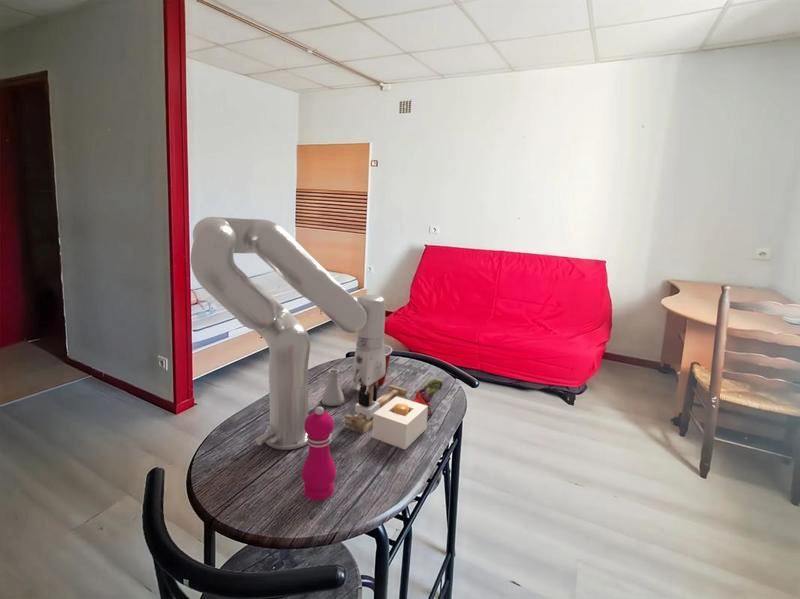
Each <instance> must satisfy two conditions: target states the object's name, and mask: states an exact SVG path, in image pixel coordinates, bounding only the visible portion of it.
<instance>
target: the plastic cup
mask: <svg viewBox="0 0 800 599" xmlns="http://www.w3.org/2000/svg"><path fill="white" fill-rule="evenodd" d="M384 346H385V356H386V371H385V375H384V376H383V377H382V378H380V379H379V381H378V386H382V385H384V384H385V381H386V376H387V373H388V368H389V363H390V359H391V354H392V352H393V348H392V347H391V345H388V344H384Z"/></svg>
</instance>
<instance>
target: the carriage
mask: <svg viewBox="0 0 800 599" xmlns="http://www.w3.org/2000/svg"><path fill="white" fill-rule="evenodd" d="M362 386H363V387H364V388H365V385H362ZM373 391H374V384H371V385H369V390H368V393H370V396H369V406H368V407H365V406H362V405H359V402H357V403H356V404H355V405H354V412H356V414H357V416H358V415H359V414H360V413H361V414H364V415H366V420H369V419H371V418H372V417H373V413H375V412H376V411H377V410H379V409H380V403H379V402H376V401H375V402H374V401H373Z"/></svg>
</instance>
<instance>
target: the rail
mask: <svg viewBox="0 0 800 599" xmlns="http://www.w3.org/2000/svg"><path fill="white" fill-rule="evenodd" d="M407 393H408V389H407V388H404V387H400V386H397V385H393V384H389V385H388V391H387V392H385V393H384V394H383V395H382V396H380V397H379V398H377V401H376V402H379V403H380V408H381V407H383V406H384V405H385V404H387V403H388V402H389V401H391V400H392V399H393V398H395V397H396V396H397V397H401V398H404V399H407V398H408V396H407V395H408V394H407ZM344 428H347V429H349V430H352V431H354V432H357V433H360V434H362V435H364V434H365V433H366V432H367V431H369V430H370V429H371V428H373V417H372V418H371V419H369V420H366V415H364V414H361V413H360V414H359V415H358V416H357V413H356V414H354V415H353V414H350V413H346V414H345V415H344Z"/></svg>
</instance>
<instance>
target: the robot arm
mask: <svg viewBox="0 0 800 599" xmlns="http://www.w3.org/2000/svg"><path fill="white" fill-rule="evenodd" d="M192 239H193V242H192V245H191V250H190V251H191V252H190V266H191V270H192V272H193V275H194V277H195V279H196V280H197V282H198V283H199V285H200V286H201V287H202V288H203V289H204V290H205V291H206V292H207V293H208V294H209V295H211V297H213V298H214V299H215V300H216V301H217V303H219V305H221V306H222V307H223V308H225V310H227V311H228V312H229V314H231V315H232V316H233V317H234V318H235V319H237V321H238V322H239V323H240V324H241V325H242V326H244V327H245V328H248V329H250V330H253V331H255V332H256V333H257V334H258V335H259V336H261V338H263V339H264V341H265V342H266V344H267V346H268V349H269V361H268V386H269V388H268V389H269V391H268V392H269V394H268V396H269V424H268V425H266V426H267V427H266V430H265V431H264V433H263V434H262V435H259V436H258V437H256V438H255V443H256V444H257V445H258V446H261V445H263V444H266V445H267V446H269V447H271V448H273V449H277V450H285V451H286V450H289V451H290V450H295V449H299V448H302V447H304V446H306V445H307V444H308V443H307V435H308V434H307V433H306V431H305V427H304V426H305V421H306V419H307V417H308V416H309V404H308V403H309V394H308V393H309V359H310V358H309V357H310V351H311V340H310V335H309V333H308V330H307V329H306V328H305V326H303V324H302V323H301V322H300V321H299V320H298V319H297V318H296V317H295V316H294V315H293V313H291V312H290V311H289V310H288V309H287V308H286V307H285V306H283V304H282V303H281V302H280V301H278V300H277V299H276V298H275V296H273V295H272V294H271V293H270V292H269V291H268V290H267V288H265V287H263V285H260V284H259V283H255V282H254V281H253V280H252V279H250V278H249V276H248V275H247V274H246V273H245V272H244V271H242V269H240V268H239V267H238V265H237V264H236V262H235V259H234V254H256V256H258V257H259V258H260V259H261V260H262V261H263V262H264V263H266V265H267V266H269V267H270V268H271V270H273V271H274V272H275V273H276V274H278V276H280V277H281V279H283V280H284V281H286V283H287V284H288V285H289V286H290V287H292V288H293V289H294V290H296V292H297V293H299V295H301V296H303V298H305V299H307V300H308V301H309V302H311V303H312V304H313V305H315V307H317V308H318V309H319V310H320V311H321V312H323V313H324V315H326V316H327V317H328V318H329V320H330V321H332V322H333V323H334V324H335V325H336V326H337V327H338V328H339V329H341V330H342V331H343V332H345V333H348V334H353V333H354V334H355V333H356V334H355V335H356V336H355V347H356V348H355V352H354V359H353V367H352V379H353V382H354V383H353V386H352V389H354V390H356V391H357V392H358V403H359V405H362V406H365V407H368V406H369V396H370V393H368V390H369V385H371V384H374V391H373V401H374V402H375V401H377V399H378V394H377V393H378V387H379V385H378V381H379V379H380V378H382V377H383V376H384V375H385V371H386V356H385V346H384V345H385V323H386V299H385V298H384V297H383V296H381V295H376V294H365V295H358V296H357V295H352V294H351V293H349V292H348V291H347V289H345V288H344V287H343V286H342V285H341V284H340V283H339V282H338V281H337V280H336V279H335V278H334V277H333V276H332V275H331V274H330V273H329V272H328V271H327V269H325V267H323V266H322V265H321V264H320V263H319V262H318V261H317V260H316V259H315V258H314V257H313V256H312V255H311V254H310V253H309V252H308V251H307V250H306V249H305V248H304V247H303V246H302V245H301V244H300V243H299V242H297V241H296V239H295V238H294V237H293V236H292V235H291V234H290V233H289V232H288V231H286V229H284V228H283V227H282V226H281V225H280V224H277V223H276V222H274V221H271V220H270V219H269V220H268V219H257V218H256V219H255V218H236V217H222V216H221V217H220V216H209V217H208V216H207V217H204V218H202V219H200V220H199V221H197V222H196V224H195V226H194V227H193V230H192ZM363 385H365V388H364V387H363ZM308 445H309V444H308Z"/></svg>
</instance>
